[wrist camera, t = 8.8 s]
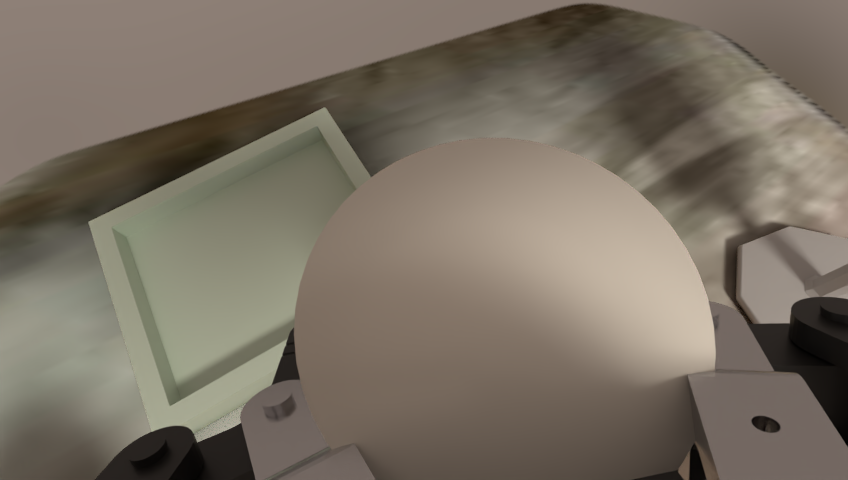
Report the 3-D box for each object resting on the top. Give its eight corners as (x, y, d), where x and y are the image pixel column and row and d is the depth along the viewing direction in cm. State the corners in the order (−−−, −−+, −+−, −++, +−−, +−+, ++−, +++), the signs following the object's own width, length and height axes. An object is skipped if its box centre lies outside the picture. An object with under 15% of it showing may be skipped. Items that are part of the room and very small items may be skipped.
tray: (180, 441, 26) (154, 440, 24) (114, 238, 32) (88, 221, 30) (437, 290, 29) (435, 276, 27) (333, 129, 35) (325, 107, 33)
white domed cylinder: (442, 529, 14) (424, 667, 5) (357, 365, 16) (235, 244, 7) (592, 426, 15) (815, 376, 6) (492, 284, 17) (540, 86, 8)
